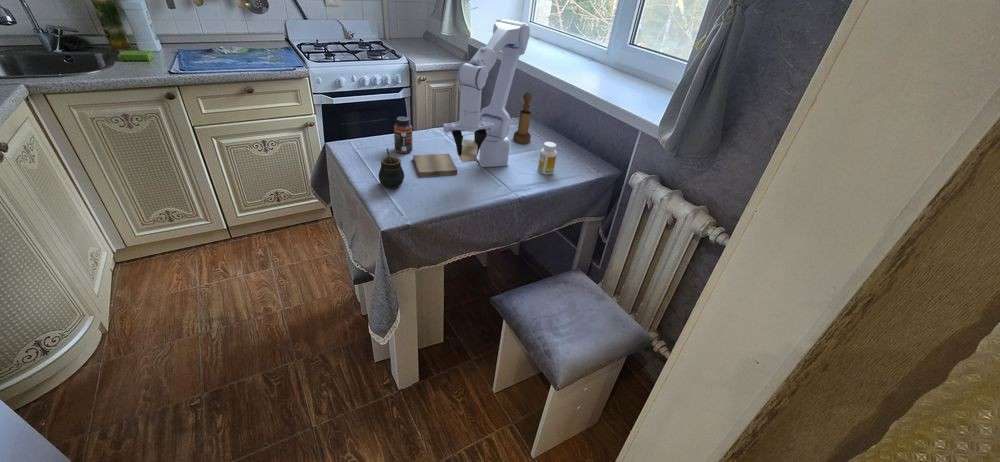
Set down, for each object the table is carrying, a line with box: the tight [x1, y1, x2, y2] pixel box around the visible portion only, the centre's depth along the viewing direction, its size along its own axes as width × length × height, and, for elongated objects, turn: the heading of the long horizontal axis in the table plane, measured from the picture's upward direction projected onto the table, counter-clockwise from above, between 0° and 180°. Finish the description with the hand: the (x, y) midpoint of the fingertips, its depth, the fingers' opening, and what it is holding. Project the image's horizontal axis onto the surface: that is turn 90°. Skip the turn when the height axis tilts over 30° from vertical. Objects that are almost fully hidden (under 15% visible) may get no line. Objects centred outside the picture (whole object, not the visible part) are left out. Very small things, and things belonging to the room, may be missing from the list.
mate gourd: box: [378, 148, 405, 189], centre depth 125 cm, size 7×8×10 cm
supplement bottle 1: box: [393, 116, 413, 155], centre depth 144 cm, size 6×6×11 cm
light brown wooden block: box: [412, 153, 458, 177], centre depth 139 cm, size 12×12×2 cm
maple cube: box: [457, 138, 478, 163], centre depth 128 cm, size 4×4×5 cm
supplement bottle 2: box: [537, 141, 558, 175], centre depth 142 cm, size 5×5×10 cm
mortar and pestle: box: [512, 92, 533, 145], centre depth 159 cm, size 7×6×18 cm
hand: (467, 153), depth 128 cm, fingers closed on maple cube, 4 cm apart
